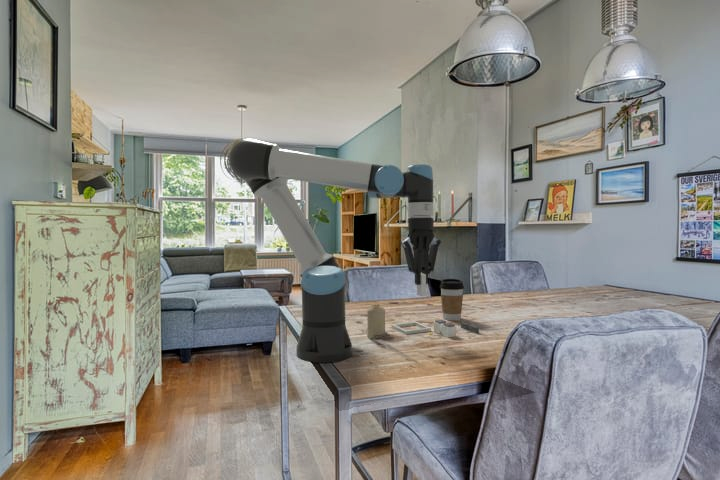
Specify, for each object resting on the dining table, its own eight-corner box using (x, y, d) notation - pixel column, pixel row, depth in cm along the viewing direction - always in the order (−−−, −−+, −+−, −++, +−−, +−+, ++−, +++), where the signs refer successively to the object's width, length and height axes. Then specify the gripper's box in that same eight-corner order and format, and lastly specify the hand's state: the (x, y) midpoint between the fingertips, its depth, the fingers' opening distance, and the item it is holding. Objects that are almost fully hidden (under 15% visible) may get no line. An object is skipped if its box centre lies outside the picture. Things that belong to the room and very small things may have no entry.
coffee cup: (462, 319, 149) (462, 278, 148) (465, 325, 140) (465, 282, 140) (438, 319, 150) (438, 278, 149) (441, 325, 141) (440, 282, 140)
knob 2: (447, 337, 121) (447, 325, 121) (442, 334, 124) (442, 323, 123) (456, 336, 122) (456, 324, 122) (450, 333, 125) (450, 322, 125)
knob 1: (439, 333, 125) (439, 322, 125) (433, 331, 128) (433, 320, 128) (447, 332, 126) (447, 321, 126) (441, 330, 129) (441, 319, 129)
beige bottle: (383, 339, 124) (383, 307, 124) (366, 338, 126) (365, 306, 125) (386, 334, 130) (386, 303, 129) (369, 334, 131) (369, 303, 131)
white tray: (418, 347, 116) (418, 336, 116) (388, 332, 133) (388, 322, 133) (480, 338, 125) (480, 327, 125) (445, 324, 142) (445, 315, 142)
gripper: (408, 217, 117) (409, 299, 118) (446, 216, 122) (446, 295, 123) (395, 217, 124) (396, 295, 125) (432, 217, 129) (432, 291, 130)
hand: (421, 295), depth 124 cm, fingers closed
